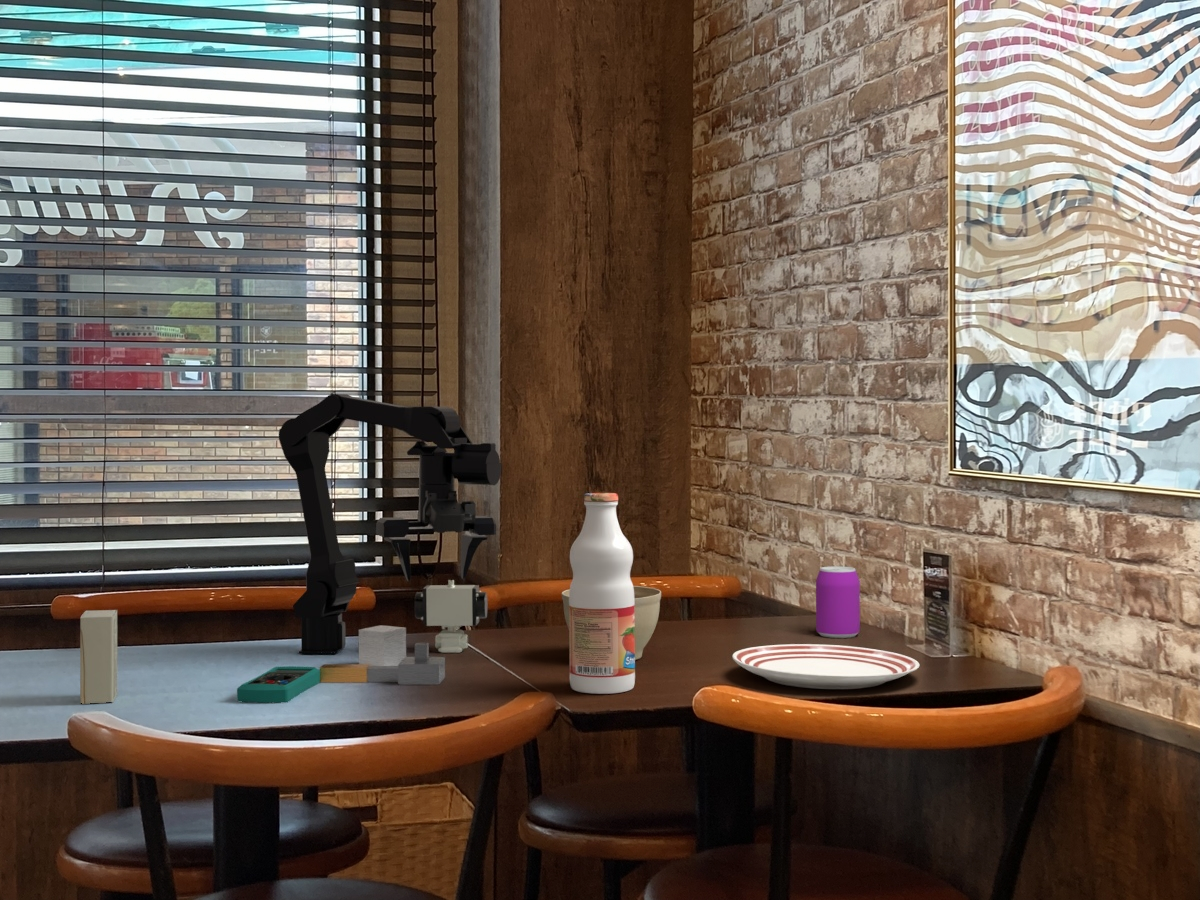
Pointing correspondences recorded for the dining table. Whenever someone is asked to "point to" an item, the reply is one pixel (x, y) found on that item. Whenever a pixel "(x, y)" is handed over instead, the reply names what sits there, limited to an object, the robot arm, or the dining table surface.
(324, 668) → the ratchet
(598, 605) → the fruit juice
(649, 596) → the planter bowl
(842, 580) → the beverage can
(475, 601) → the pneumatic valve
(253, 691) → the digital multimeter
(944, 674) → the dining table surface
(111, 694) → the skincare box
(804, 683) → the dinner plate
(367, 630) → the plain white cube
